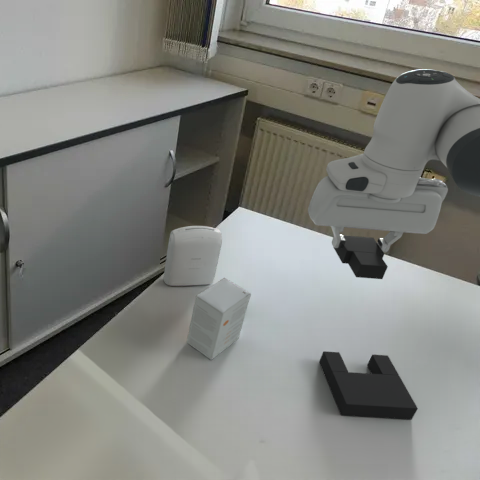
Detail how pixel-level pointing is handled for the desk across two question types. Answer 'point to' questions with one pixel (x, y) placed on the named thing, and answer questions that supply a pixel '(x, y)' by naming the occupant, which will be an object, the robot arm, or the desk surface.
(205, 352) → the small box
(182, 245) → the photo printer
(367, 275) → the black block
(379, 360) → the black notched block
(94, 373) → the desk surface
